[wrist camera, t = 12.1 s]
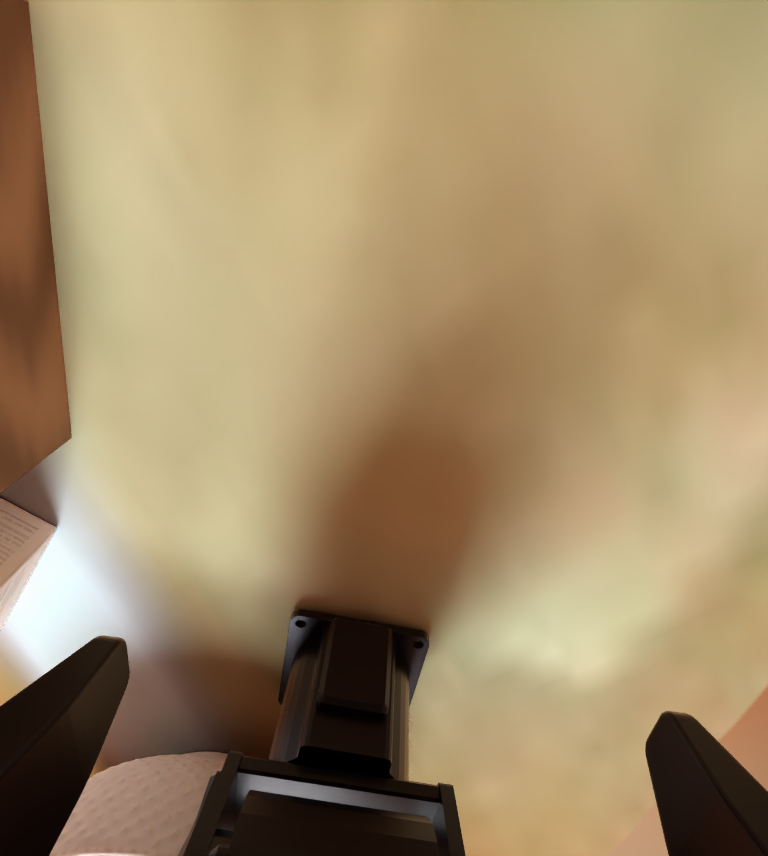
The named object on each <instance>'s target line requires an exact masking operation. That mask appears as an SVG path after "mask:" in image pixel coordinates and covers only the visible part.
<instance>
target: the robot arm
mask: <svg viewBox="0 0 768 856" xmlns="http://www.w3.org/2000/svg"><path fill="white" fill-rule="evenodd" d="M300 620H303V621H300ZM417 641H420V642H417ZM428 647H429V636H428V634H427V633H425V632H424V631H421V630H416V629H410V628H405V627H399V626H394V625H388V624H382V623H377V622H371V621H365V620H360V619H354V618H349V617H343V616H337V615H332V614H326V613H321V612H315V611H309V610H304V609H299V610H296V611H294V612H293V614H292V616H291V620H290V624H289V631H288V638H287V645H286V652H285V658H284V665H283V672H282V679H281V685H280V692H279V699H278V700H279V703H280V704H281V705H282V707H281V711H280V715H279V719H278V723H277V727H276V731H275V735H274V739H273V743H272V747H271V751H270V755H269V759H264V758H257V757H251V756H244V755H243V752H236V751H229V753H228V755H227V758H226V760H225V763H224V765H223V768H222V770H221V771H217V773H216V775H214V776H211V777H210V779H209V782H208V785H207V788H206V791H205V794H204V797H203V800H202V803H201V806H200V808H199V811H198V814H197V817H196V819H195V822H194V824H193V826H192V829H191V831H190V833H189V835H188V837H187V839H186V840H185V842H184V844H183V846H182V848H181V850H180V852H179V854H178V856H465V850H464V845H463V839H462V834H461V828H460V822H459V817H458V811H457V806H456V800H455V794H454V789H453V785H450V784H443V783H438V785H432V784H425V783H419V782H412V781H408V768H409V706H410V703H411V700H412V697H413V694H414V691H415V688H416V685H417V681H418V678H419V675H420V672H421V669H422V666H423V663H424V660H425V657H426V654H427V651H428ZM129 674H130V670H129V662H128V654H127V646H126V642H125V641H124V639H122V638H118V637H110V636H98V637H96V638H94V639H93V640H91V641H90V642H89V643H87V644H86V645H84V646H83V647H82V648H80V649H79V650H77V651H76V652H75V653H73V654H72V655H71V656H69V657H68V658H66V659H65V660H64V661H62V662H61V663H59V664H58V665H57V666H55V667H54V668H53V669H51V670H50V671H48V672H47V673H46V674H44V675H43V676H41V677H40V678H39V679H37V680H36V681H35V682H33V683H32V684H30V685H29V686H28V687H26V688H25V689H24V690H22V691H21V692H19V693H18V694H17V695H15V696H14V697H12V698H11V699H10V700H8V701H7V702H6V703H4V704H3V705H1V706H0V856H49V855H50V853H51V851H52V849H53V847H54V846H55V844H56V842H57V840H58V838H59V836H60V834H61V832H62V830H63V828H64V827H65V825H66V823H67V821H68V819H69V817H70V815H71V813H72V811H73V809H74V808H75V806H76V804H77V802H78V800H79V798H80V796H81V794H82V792H83V790H84V788H85V786H86V783H87V781H88V779H89V777H90V774H91V772H92V770H93V767H94V765H95V762H96V760H97V758H98V755H99V753H100V750H101V748H102V745H103V743H104V741H105V738H106V736H107V733H108V731H109V728H110V726H111V724H112V721H113V719H114V716H115V714H116V712H117V709H118V707H119V704H120V702H121V699H122V697H123V695H124V692H125V690H126V687H127V684H128V681H129ZM645 750H646V758H647V763H648V767H649V772H650V776H651V780H652V785H653V789H654V794H655V798H656V803H657V807H658V811H659V815H660V820H661V825H662V829H663V833H664V838H665V842H666V846H667V850H668V854H669V856H768V791H767V790H766V789H765V788H764V787H763V786H762V785H761V784H760V783H759V782H758V781H757V780H756V779H755V778H754V777H753V776H752V775H751V774H750V773H749V772H748V771H747V770H746V769H745V768H744V767H743V766H742V765H741V764H740V763H739V762H738V761H737V760H736V759H735V758H734V757H733V756H732V755H731V754H730V753H729V752H728V751H727V750H726V749H725V748H724V747H723V746H722V745H721V744H720V743H719V742H718V741H717V740H716V739H715V738H714V737H713V736H712V735H711V734H710V733H709V732H708V731H707V730H706V729H705V728H704V727H703V726H702V725H701V724H700V723H699V722H698V721H697V720H696V719H695V718H694V717H692V716H691V715H689V714H686V713H679V712H671V711H666V712H664V713H662V714H661V715H660V717H659V719H658V721H657V722H656V724H655V726H654V728H653V730H652V731H651V733H650V735H649V737H648V739H647V741H646V749H645Z"/></svg>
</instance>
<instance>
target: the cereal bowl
mask: <svg viewBox="0 0 768 856" xmlns="http://www.w3.org/2000/svg"><path fill="white" fill-rule="evenodd" d="M227 755H228V754H225V753H219V752H192V753H185V754H182V755H178V754H175V755H174V754H171V755H158V756H151V757H145V758H140V759H135V760H133V761H128V762H123V763H122V764H119V765H117V766H111V767H109V768H108V769H106V770H104V771H102V772H98V773H97V774H95V775H94V776H93V777H91V778H89V779H88V781H87V783H86V786H85V788H84V790H83V792H82V794H81V796H80V798H79V800H78V802H77V804H76V806H75V808H74V809H73V811H72V813H71V815H70V817H69V819H68V821H67V823H66V825H65V827H64V828H63V830H62V832H61V834H60V836H59V838H58V840H57V842H56V844H55V846H54V847H53V849H52V851H51V853H50V855H49V856H178V854H179V852H180V850H181V848H182V846H183V844H184V842H185V840H186V839H187V837H188V835H189V833H190V831H191V829H192V826H193V824H194V822H195V819H196V817H197V814H198V811H199V808H200V806H201V803H202V800H203V797H204V794H205V791H206V788H207V785H208V782H209V779H210V777H211V776H214V775H216V773H217V771H221V770H222V768H223V765H224V763H225V760H226V758H227Z"/></svg>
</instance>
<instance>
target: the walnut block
mask: <svg viewBox="0 0 768 856" xmlns="http://www.w3.org/2000/svg"><path fill="white" fill-rule="evenodd" d="M70 438H72V437H71V427H70V417H69V406H68V396H67V386H66V376H65V366H64V356H63V346H62V336H61V326H60V316H59V306H58V296H57V286H56V276H55V266H54V256H53V246H52V236H51V226H50V216H49V206H48V196H47V186H46V175H45V165H44V155H43V145H42V135H41V125H40V115H39V105H38V95H37V85H36V75H35V65H34V55H33V45H32V35H31V25H30V15H29V5H28V2H25V1H23V0H0V493H1V492H2V491H3V490H5V489H6V488H7V487H9V486H10V485H11V484H12V483H14V482H15V481H16V480H18V479H19V478H20V477H21V476H23V475H24V474H25V473H27V472H28V471H29V470H30V469H32V468H33V467H34V466H36V465H37V464H38V463H39V462H41V461H42V460H43V459H45V458H46V457H47V456H49V455H50V454H51V453H52V452H54V451H55V450H56V449H58V448H59V447H60V446H61V445H63V444H64V443H65V442H67V441H68V440H69V439H70Z"/></svg>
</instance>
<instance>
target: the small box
mask: <svg viewBox="0 0 768 856" xmlns="http://www.w3.org/2000/svg"><path fill="white" fill-rule="evenodd" d="M55 532H56V527H55V526H53V525H51V524H49V523H47V522H45V521H43V520H41V519H40V518H38V517H36V516H34V515H32V514H30V513H28V512H26V511H24V510H23V509H21V508H19V507H17V506H15V505H13V504H11V503H9V502H7V501H5V500H3V499H1V498H0V630H1V629H2V628H3V626H4V624H5V622H6V620H7V618H8V617H9V615H10V613H11V611H12V609H13V607H14V606H15V604H16V602H17V600H18V598H19V596H20V595H21V593H22V591H23V589H24V587H25V585H26V584H27V582H28V580H29V578H30V576H31V575H32V573H33V571H34V569H35V567H36V566H37V564H38V562H39V560H40V558H41V556H42V554H43V552H44V551H45V549H46V547H47V545H48V544H49V542H50V540H51V538H52V537H53V535H54V533H55Z"/></svg>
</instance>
